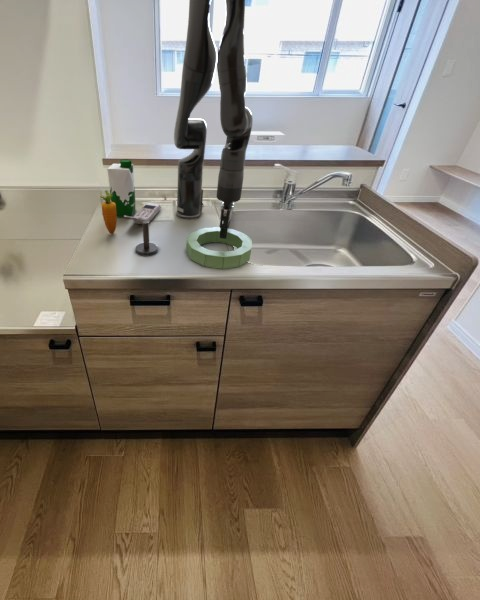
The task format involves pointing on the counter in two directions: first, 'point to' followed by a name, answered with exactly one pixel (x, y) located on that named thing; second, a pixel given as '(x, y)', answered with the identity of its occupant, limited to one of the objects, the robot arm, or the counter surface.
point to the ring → (216, 257)
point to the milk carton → (122, 187)
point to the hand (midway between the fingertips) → (224, 232)
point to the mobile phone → (145, 213)
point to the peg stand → (146, 243)
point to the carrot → (109, 213)
